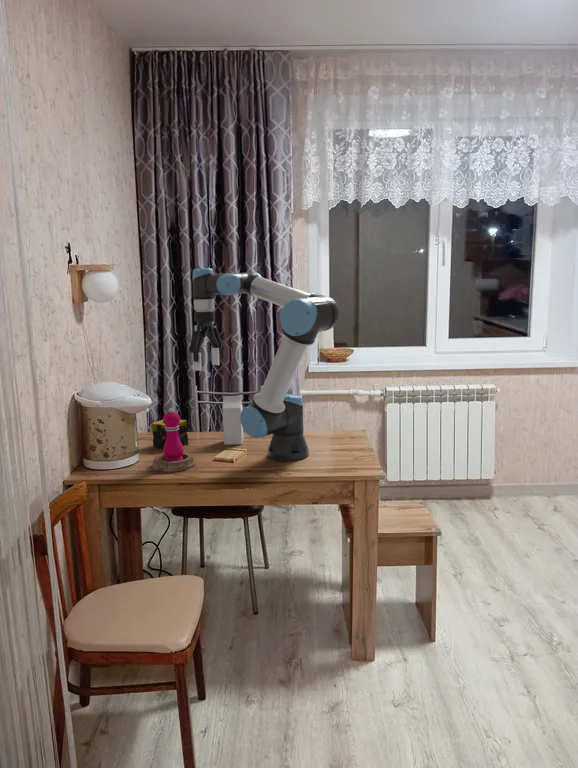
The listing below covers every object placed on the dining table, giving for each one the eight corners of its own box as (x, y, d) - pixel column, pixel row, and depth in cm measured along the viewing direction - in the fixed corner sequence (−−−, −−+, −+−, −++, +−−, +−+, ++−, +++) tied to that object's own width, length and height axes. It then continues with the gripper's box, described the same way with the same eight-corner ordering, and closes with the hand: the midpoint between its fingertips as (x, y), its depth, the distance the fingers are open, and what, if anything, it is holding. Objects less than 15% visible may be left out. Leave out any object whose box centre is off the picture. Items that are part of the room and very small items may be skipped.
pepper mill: (180, 465, 240) (176, 410, 236) (160, 465, 241) (157, 410, 238) (187, 459, 247) (184, 406, 243) (168, 459, 248) (165, 405, 245)
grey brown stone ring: (202, 461, 248) (202, 453, 248) (180, 473, 235) (180, 465, 234) (167, 458, 254) (167, 449, 253) (144, 469, 240) (143, 461, 240)
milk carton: (242, 444, 270) (240, 397, 267) (224, 445, 270) (222, 398, 267) (243, 440, 277) (241, 394, 274) (226, 440, 277) (224, 394, 274)
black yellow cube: (189, 444, 273) (187, 420, 271) (171, 450, 264) (170, 425, 263) (169, 441, 278) (168, 417, 276) (152, 447, 270) (151, 422, 268)
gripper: (212, 308, 264) (214, 362, 268) (177, 313, 241) (180, 372, 245) (229, 308, 261) (231, 362, 265) (196, 313, 239) (199, 373, 242)
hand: (207, 367), depth 255 cm, fingers open, 13 cm apart
